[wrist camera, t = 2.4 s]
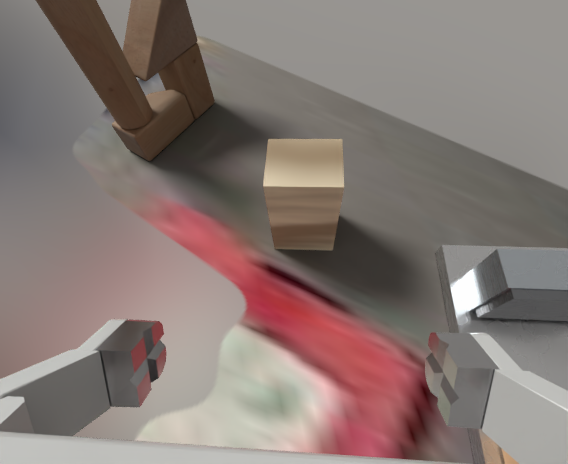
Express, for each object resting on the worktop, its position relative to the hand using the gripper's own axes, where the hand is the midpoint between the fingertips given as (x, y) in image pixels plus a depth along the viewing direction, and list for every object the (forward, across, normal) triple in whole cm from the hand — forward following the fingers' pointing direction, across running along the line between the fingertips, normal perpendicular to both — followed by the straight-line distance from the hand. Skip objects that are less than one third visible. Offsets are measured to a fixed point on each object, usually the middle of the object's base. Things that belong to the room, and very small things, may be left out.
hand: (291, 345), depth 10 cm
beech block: (+19, 0, +2) cm, 19 cm away
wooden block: (+29, +15, -7) cm, 33 cm away
